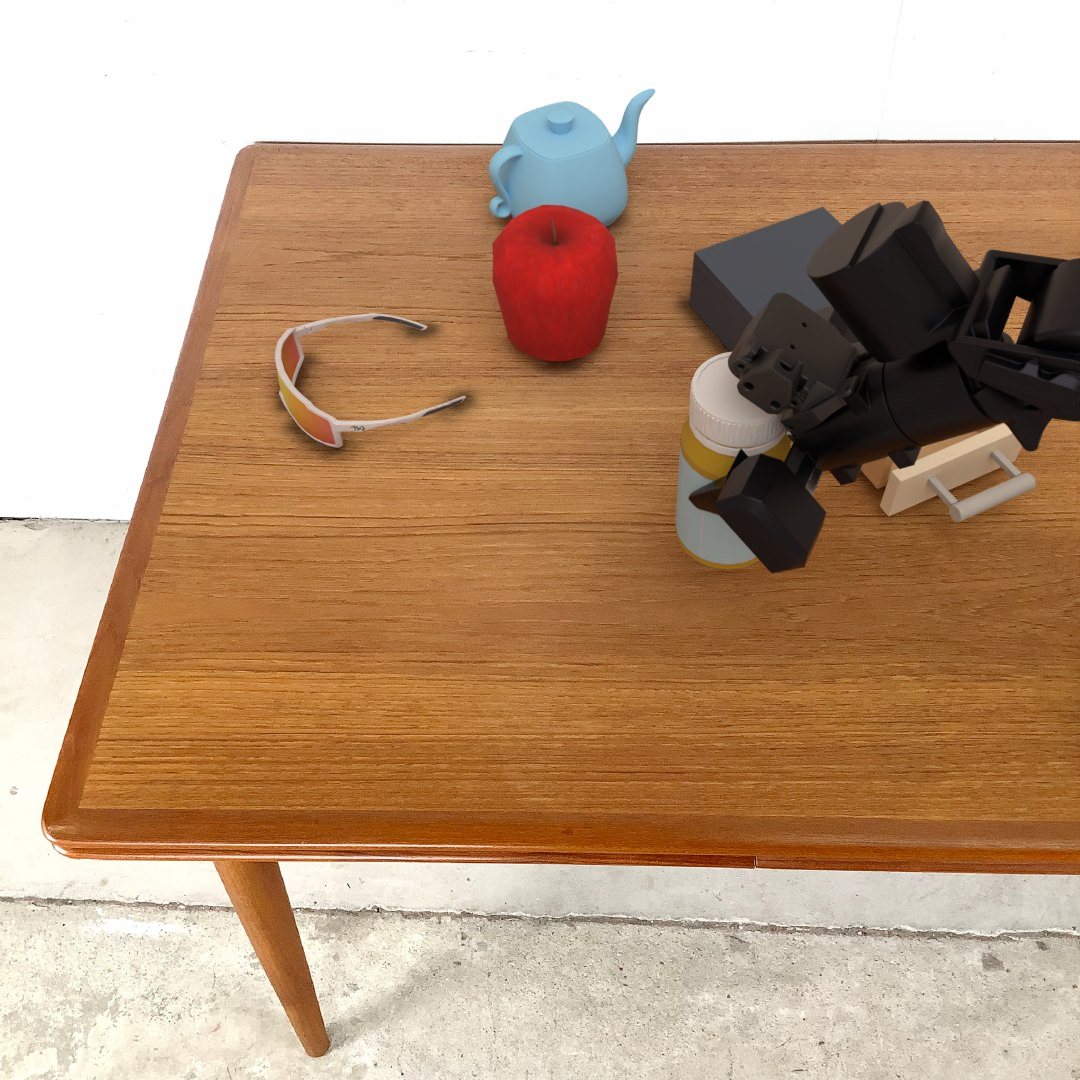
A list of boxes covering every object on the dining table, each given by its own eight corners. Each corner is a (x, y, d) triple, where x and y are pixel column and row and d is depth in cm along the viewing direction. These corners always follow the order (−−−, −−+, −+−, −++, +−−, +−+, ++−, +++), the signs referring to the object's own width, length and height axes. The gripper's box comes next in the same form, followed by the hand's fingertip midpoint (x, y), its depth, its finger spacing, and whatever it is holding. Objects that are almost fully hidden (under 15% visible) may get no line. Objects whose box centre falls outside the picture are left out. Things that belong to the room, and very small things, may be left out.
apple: (499, 387, 98) (488, 264, 88) (498, 309, 105) (487, 184, 94) (619, 382, 98) (623, 258, 87) (611, 303, 104) (614, 178, 94)
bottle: (659, 552, 80) (665, 406, 68) (699, 483, 83) (712, 333, 71) (751, 588, 77) (774, 443, 65) (788, 516, 81) (817, 366, 69)
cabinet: (920, 368, 98) (938, 315, 93) (788, 421, 95) (799, 369, 90) (812, 259, 107) (823, 206, 102) (688, 304, 104) (693, 251, 99)
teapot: (689, 115, 104) (514, 173, 99) (681, 212, 112) (520, 269, 108) (621, 52, 111) (455, 104, 106) (618, 148, 119) (465, 199, 115)
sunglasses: (260, 363, 101) (255, 319, 97) (419, 332, 106) (420, 289, 102) (304, 472, 93) (301, 428, 89) (473, 432, 98) (477, 390, 94)
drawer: (1051, 497, 88) (1070, 461, 84) (922, 555, 85) (936, 520, 82) (897, 343, 99) (908, 305, 95) (778, 390, 96) (785, 353, 92)
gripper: (882, 191, 65) (692, 289, 77) (771, 404, 55) (573, 478, 67) (983, 332, 69) (786, 404, 81) (896, 554, 59) (688, 598, 71)
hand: (713, 464), depth 75 cm, fingers closed on bottle, 7 cm apart
